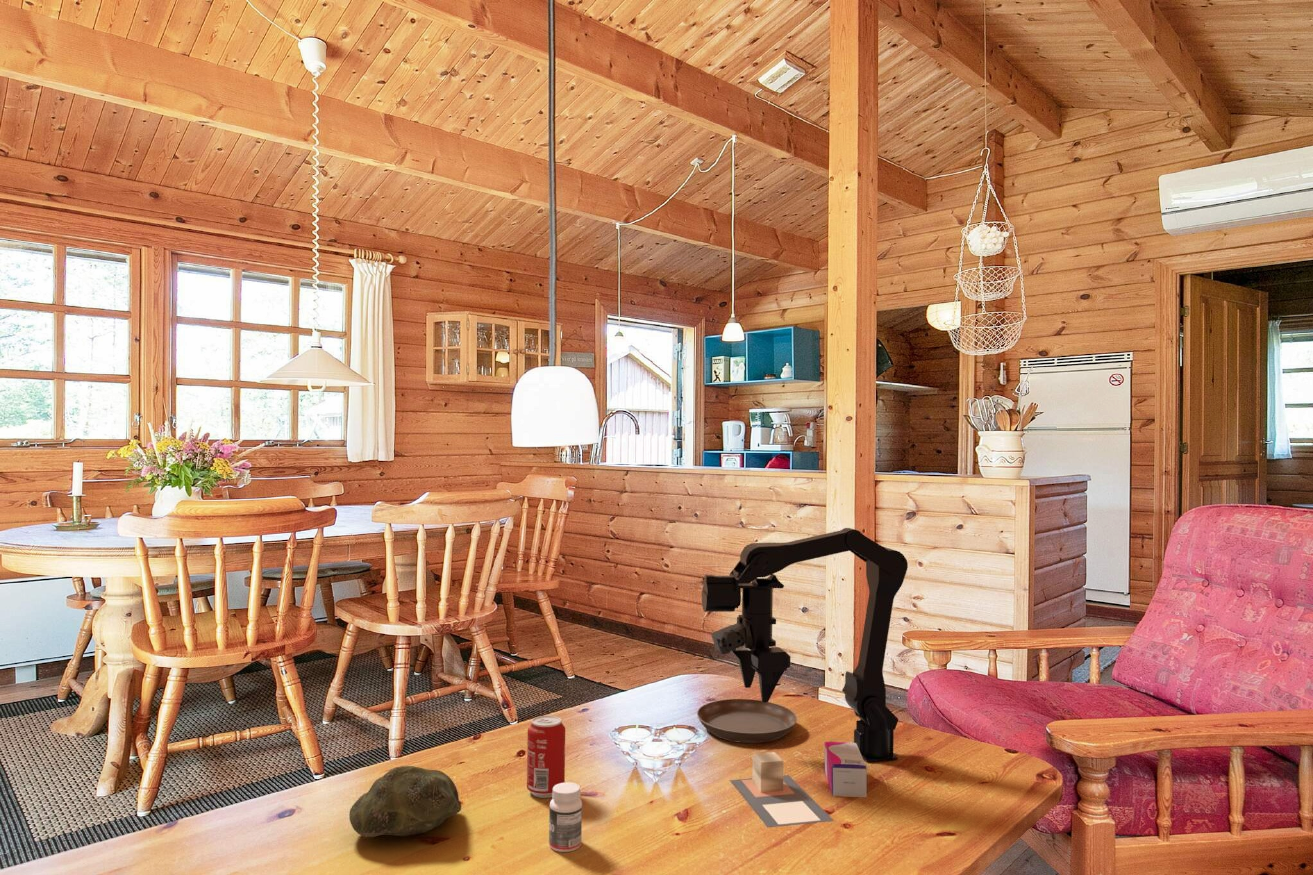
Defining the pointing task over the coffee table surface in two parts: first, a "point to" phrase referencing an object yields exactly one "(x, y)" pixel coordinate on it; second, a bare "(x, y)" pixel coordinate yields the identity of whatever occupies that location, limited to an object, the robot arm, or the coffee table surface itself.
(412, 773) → the decorative rock
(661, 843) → the coffee table surface
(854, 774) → the supplement box
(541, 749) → the beverage can
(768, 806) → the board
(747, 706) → the plant saucer
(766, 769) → the block
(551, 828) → the pill bottle
